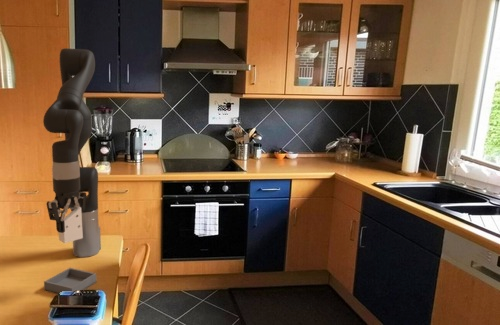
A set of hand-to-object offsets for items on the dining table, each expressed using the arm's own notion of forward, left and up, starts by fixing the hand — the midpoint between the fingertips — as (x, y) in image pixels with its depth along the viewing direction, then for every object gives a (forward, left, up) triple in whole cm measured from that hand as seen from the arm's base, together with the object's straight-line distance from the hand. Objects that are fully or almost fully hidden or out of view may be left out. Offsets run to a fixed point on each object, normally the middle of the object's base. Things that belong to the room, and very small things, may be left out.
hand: (68, 228), depth 123 cm
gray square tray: (0, 0, -19) cm, 19 cm away
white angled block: (-1, 0, -4) cm, 4 cm away
